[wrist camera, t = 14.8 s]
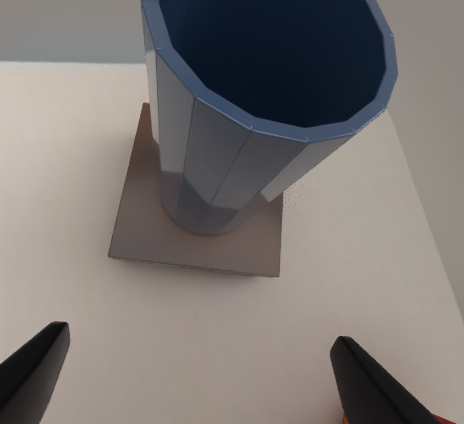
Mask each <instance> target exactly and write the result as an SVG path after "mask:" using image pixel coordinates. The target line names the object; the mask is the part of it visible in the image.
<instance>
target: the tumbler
mask: <svg viewBox="0 0 464 424" xmlns="http://www.w3.org/2000/svg"><path fill="white" fill-rule="evenodd" d="M141 9H142V21H143V33H144V44H145V55H146V66H147V77H148V88H149V99H150V111H151V122H152V133H153V144H154V155H155V166H156V178H157V187H158V191H159V196H160V200H161V203H162V205H163V207H164V209H165V211H166V212H167V214H168V215H169V216H170V217H171V218H172V220H173V221H174V222H176V223H177V224H178V225H179V226H181V227H182V228H184V229H186V230H188V231H190V232H193V233H196V234H200V235H210V236H211V235H220V234H224V233H227V232H230V231H232V230H234V229H236V228H237V227H239V226H240V225H241V224H242V223H244V222H245V221H246V220H248V219H249V218H250V217H251V216H253V215H254V214H255V213H256V212H258V211H259V210H260V209H262V208H263V207H264V206H265V205H267V204H268V203H269V202H270V201H272V200H273V199H274V198H276V197H277V196H278V195H279V194H281V193H282V192H283V191H284V190H286V189H287V188H288V187H290V186H291V185H292V184H293V183H295V182H296V181H297V180H298V179H300V178H301V177H302V176H304V175H305V174H306V173H307V172H309V171H310V170H311V169H312V168H314V167H315V166H316V165H318V164H319V163H320V162H321V161H323V160H324V159H325V158H326V157H328V156H329V155H330V154H332V153H333V152H334V151H335V150H337V149H338V148H339V147H340V146H342V145H343V144H344V143H346V142H347V141H348V140H349V139H351V138H352V137H353V136H354V135H356V134H357V133H358V132H359V131H361V130H362V129H363V128H364V127H365V126H367V125H368V124H369V123H370V122H372V121H373V120H374V119H375V118H376V117H378V116H379V115H380V114H381V113H382V112H384V111H385V109H386V108H387V105H388V102H389V99H390V96H391V93H392V91H393V88H394V85H395V82H396V80H397V77H398V66H397V58H396V49H395V41H394V37H393V33H392V31H391V29H390V27H389V25H388V23H387V21H386V19H385V17H384V15H383V13H382V11H381V9H380V7H379V5H378V3H377V1H376V0H141Z"/></svg>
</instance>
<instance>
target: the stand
mask: <svg viewBox="0 0 464 424" xmlns="http://www.w3.org/2000/svg"><path fill="white" fill-rule="evenodd" d="M282 208H283V192H282V193H281V194H279V195H278V196H277V197H276V198H274V199H273V200H272V201H270V202H269V203H268V204H267V205H265V206H264V207H263V208H262V209H260V210H259V211H258V212H256V213H255V214H254V215H253V216H251V217H250V218H249V219H248V220H246V221H245V222H244V223H242V224H241V225H240V226H239V227H237V228H236V229H234V230H232V231H230V232H227V233H224V234H220V235H211V236H210V235H200V234H196V233H193V232H190V231H188V230H186V229H184V228H182V227H181V226H179V225H178V224H177V223H176V222H174V221H173V220H172V218H171V217H170V216H169V215H168V214H167V212H166V211H165V209H164V207H163V205H162V203H161V200H160V196H159V191H158V187H157V178H156V166H155V155H154V144H153V133H152V122H151V111H150V104H148V103H143V107H142V111H141V115H140V120H139V124H138V128H137V133H136V137H135V141H134V145H133V150H132V154H131V158H130V163H129V167H128V171H127V176H126V180H125V184H124V189H123V193H122V197H121V201H120V206H119V210H118V214H117V219H116V223H115V227H114V232H113V236H112V240H111V245H110V249H109V253H108V257H111V258H113V259H118V260H126V261H135V262H143V263H151V264H160V265H168V266H177V267H185V268H193V269H202V270H210V271H219V272H227V273H236V274H244V275H252V276H261V277H269V278H270V277H279V269H280V249H281V229H282Z"/></svg>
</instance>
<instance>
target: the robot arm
mask: <svg viewBox="0 0 464 424" xmlns="http://www.w3.org/2000/svg"><path fill="white" fill-rule="evenodd" d="M69 346H70V332H69V325H68V323H67V322H58V321H55V322H52V323H50V324H49V325H47V326H46V327H45V328H44V329H43V330H41V331H40V332H39V333H38V334H37V335H35V336H34V337H33V338H32V339H30V340H29V341H28V342H27V343H26V344H24V345H23V346H22V347H21V348H19V349H18V350H17V351H16V352H15V353H13V354H12V355H11V356H10V357H9V358H7V359H6V360H5V361H4V362H2V363H1V364H0V424H39V423H40V421H41V419H42V417H43V415H44V413H45V410H46V408H47V406H48V404H49V401H50V399H51V396H52V393H53V391H54V388H55V385H56V382H57V380H58V377H59V374H60V371H61V368H62V366H63V363H64V360H65V357H66V355H67V352H68V349H69ZM330 358H331V362H332V366H333V371H334V375H335V379H336V383H337V387H338V391H339V395H340V399H341V403H342V406H343V409H344V412H345V415H346V418H347V421H348V424H442V423H441V422H440V421H439V420H438V419H437V418H436V417H435V416H434V415H433V414H432V413H430V412H429V411H428V410H427V409H426V408H425V407H424V406H423V405H422V404H421V403H420V402H419V401H418V400H417V399H416V398H415V397H414V396H413V395H411V394H410V393H409V392H408V391H407V390H406V389H405V388H404V387H403V386H402V385H401V384H400V383H399V382H398V381H397V380H396V379H395V378H394V377H392V376H391V375H390V374H389V373H388V372H387V371H386V370H385V369H384V368H383V367H382V366H381V365H380V364H379V363H378V362H377V361H376V360H375V359H373V358H372V357H371V356H370V355H369V354H368V353H367V352H366V351H365V350H364V349H363V348H362V347H361V346H360V345H359V344H358V343H357V342H356V341H354V340H353V339H352V338H351V337H348V336H339V337H338V338H337V339H336V341H335V343H334V345H333V346H332V348H331V350H330Z"/></svg>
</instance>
